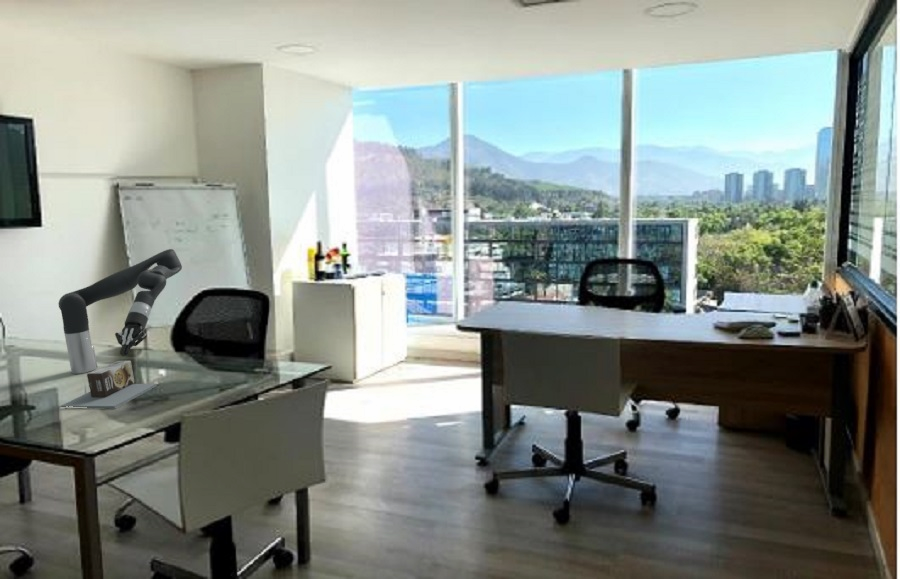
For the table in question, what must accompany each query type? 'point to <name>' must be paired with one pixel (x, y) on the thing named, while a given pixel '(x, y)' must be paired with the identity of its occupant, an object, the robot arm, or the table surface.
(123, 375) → the coffee box
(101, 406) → the mat
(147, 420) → the table surface
